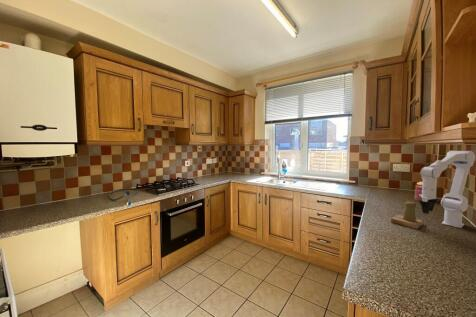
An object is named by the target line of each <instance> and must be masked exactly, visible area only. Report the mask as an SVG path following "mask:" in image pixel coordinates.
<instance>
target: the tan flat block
mask: <svg viewBox="0 0 476 317" xmlns="http://www.w3.org/2000/svg"><path fill="white" fill-rule="evenodd" d="M403 216H404V214H397V215H395V216H393V217H391V218H390V223H393V224H396V225H399V226H403V227H407V228H411V229H414V230H418V229H419V228H421V226H423V224H424V220H423V219H419V218H416V222H410V221H406V220H404V219H403Z"/></svg>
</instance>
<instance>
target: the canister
mask: <svg viewBox="0 0 476 317" xmlns="http://www.w3.org/2000/svg"><path fill="white" fill-rule="evenodd" d="M422 183H423V181H419V182H416V184H415V186H414V187H415V189H414V197H413V198H414V200H416V201H418V202H419V200H422V197H421V196H419V195H422Z"/></svg>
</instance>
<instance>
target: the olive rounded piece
mask: <svg viewBox="0 0 476 317" xmlns="http://www.w3.org/2000/svg"><path fill="white" fill-rule="evenodd" d="M404 206H405V209H404V213H403V219H404V220H406V221H410V222H416V219H417V218H416V217H417V216H416V208H417V204H416V203H415V202H413V201H405V202H404Z"/></svg>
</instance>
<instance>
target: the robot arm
mask: <svg viewBox="0 0 476 317" xmlns="http://www.w3.org/2000/svg"><path fill="white" fill-rule="evenodd" d="M475 160H476V154H475V153H474V152H473V151H472V150H449V151H448V152H447V153H446V156H445V157H444V158H443V159H441V160H435V162H433V163H431V164H430V165H428V166H424V167H422V168H421V169H420V172H419V174H420V176H421V180H422V182H423V183H422V195H419V196H421V197H422V200H419V201H418V202H419V204H420V206H421V210H422V213H423V214H424V215H425V214H427V215H429V213H430V212H433V210H434V207H435V205H436V203H437V202H438V201H439V199H438V198H437V185H438V184H437V183H438V182H437V181H438V178H439V177H440V176H441V175H442V172H444V171H445V170H447V169H448V167H449V165H450V164H451V165H452V166H455V167H456V169H455V173H454V174H453V175H454V176H453V180H452V184H451V187H450V190H449V192H448V193H445V194H443V196H442V199H441V200H440V205H441V206H442V207H443V209H444V214H443V215H444V216H443V221H442V222H441V224H442V225H446V226H451V227H453V228H454V227H455V228H460V229H462V228H463V227H464V225H465V223H463V214H464V213H463V212H465V211H467V210H468V209H469V199H468V198H467V197H466V196H464V195H463V194H464V191H465V186H466V183H467V180H468V179H467V178H468V174H469V173H470V172H469V171H470V168H471V167H473V166H474V164H475Z"/></svg>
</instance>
